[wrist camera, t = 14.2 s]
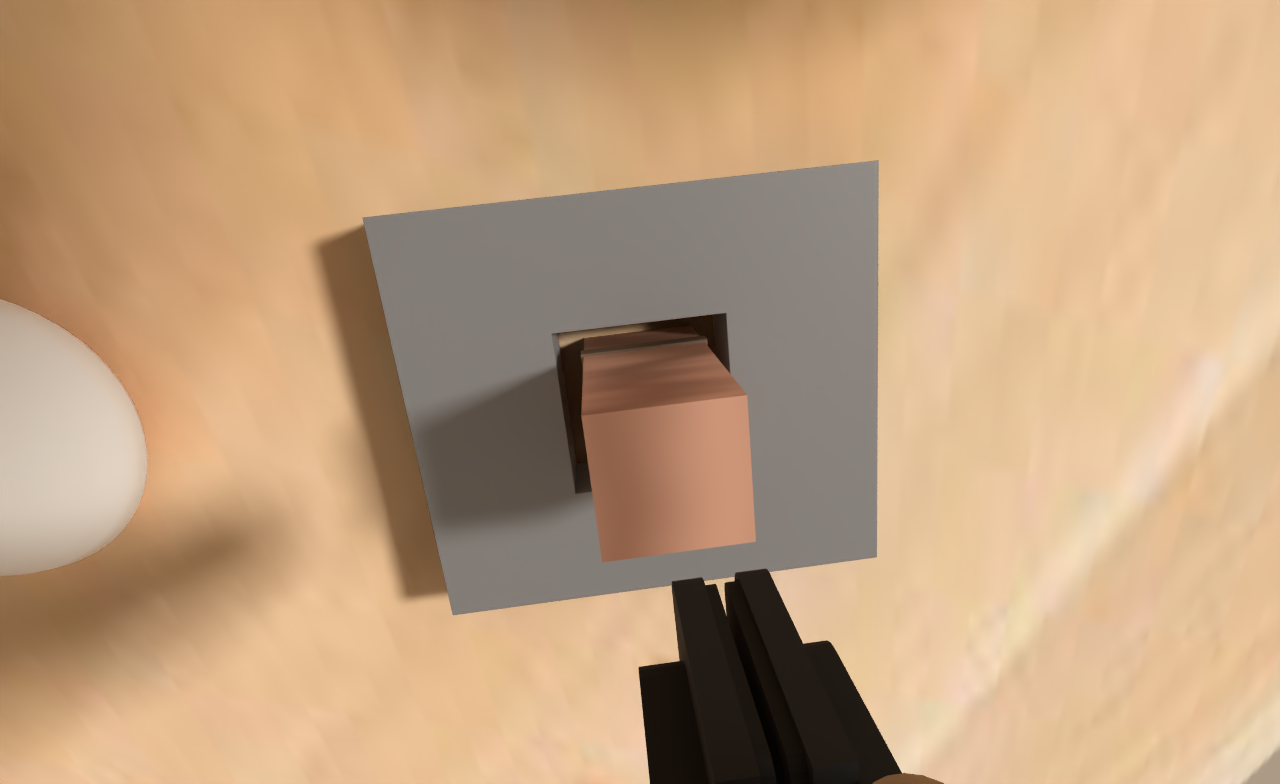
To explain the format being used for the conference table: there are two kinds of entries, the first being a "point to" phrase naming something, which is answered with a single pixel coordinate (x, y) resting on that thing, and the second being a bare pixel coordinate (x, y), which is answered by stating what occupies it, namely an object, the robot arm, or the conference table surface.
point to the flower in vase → (62, 447)
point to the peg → (665, 444)
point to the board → (620, 295)
